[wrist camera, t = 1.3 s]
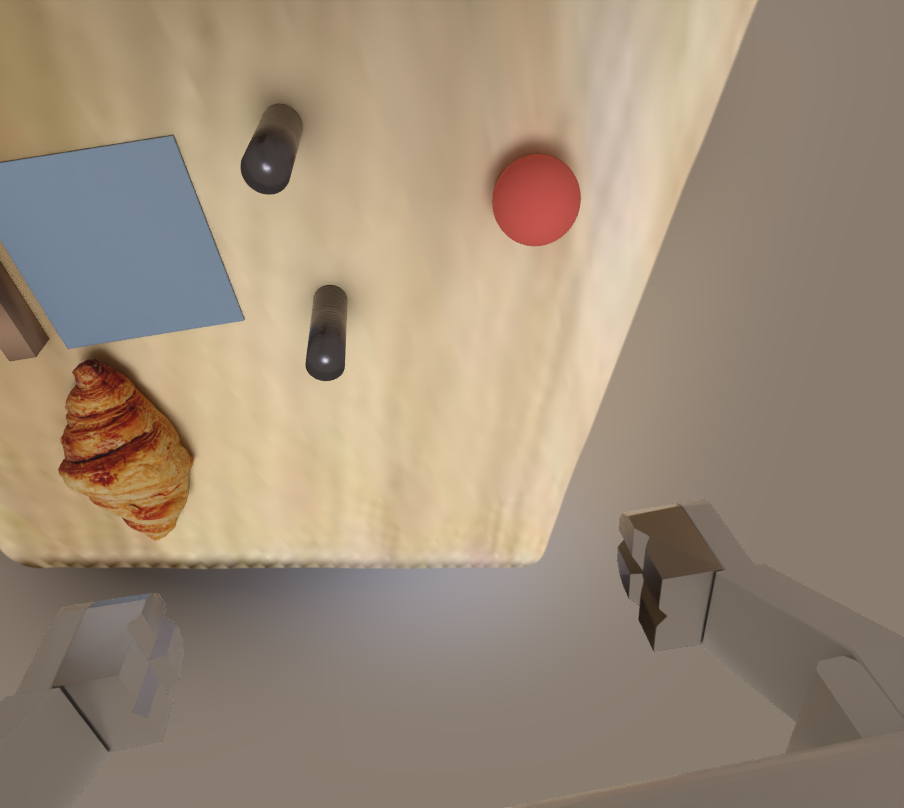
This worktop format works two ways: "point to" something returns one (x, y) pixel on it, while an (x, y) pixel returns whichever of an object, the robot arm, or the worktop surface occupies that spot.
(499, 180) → the ball
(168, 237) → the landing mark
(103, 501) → the croissant
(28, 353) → the wall
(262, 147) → the post
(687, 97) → the worktop surface
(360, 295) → the worktop surface
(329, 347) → the post
